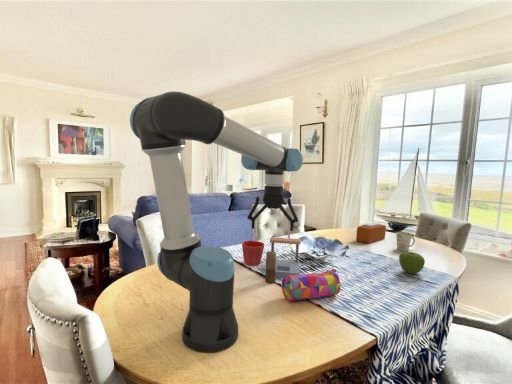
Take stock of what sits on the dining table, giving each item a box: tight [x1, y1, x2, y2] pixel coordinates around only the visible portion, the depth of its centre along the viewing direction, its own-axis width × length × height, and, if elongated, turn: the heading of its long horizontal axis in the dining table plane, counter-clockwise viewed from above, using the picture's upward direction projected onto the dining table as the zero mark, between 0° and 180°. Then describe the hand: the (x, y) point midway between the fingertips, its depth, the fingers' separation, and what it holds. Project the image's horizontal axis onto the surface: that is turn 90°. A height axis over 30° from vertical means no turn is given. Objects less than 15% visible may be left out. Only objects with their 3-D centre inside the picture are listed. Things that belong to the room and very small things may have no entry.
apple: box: [398, 251, 426, 275], centre depth 130 cm, size 11×10×10 cm
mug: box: [395, 231, 416, 252], centre depth 170 cm, size 8×13×10 cm, turn 107°
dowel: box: [264, 250, 277, 285], centre depth 114 cm, size 4×4×12 cm
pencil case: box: [281, 268, 341, 303], centre depth 103 cm, size 22×9×9 cm, turn 115°
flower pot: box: [241, 240, 265, 267], centre depth 136 cm, size 11×11×10 cm
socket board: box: [269, 236, 301, 279], centre depth 126 cm, size 16×14×13 cm
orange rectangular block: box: [355, 221, 387, 245], centre depth 190 cm, size 24×8×11 cm, turn 130°
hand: (271, 237), depth 113 cm, fingers open, 13 cm apart
